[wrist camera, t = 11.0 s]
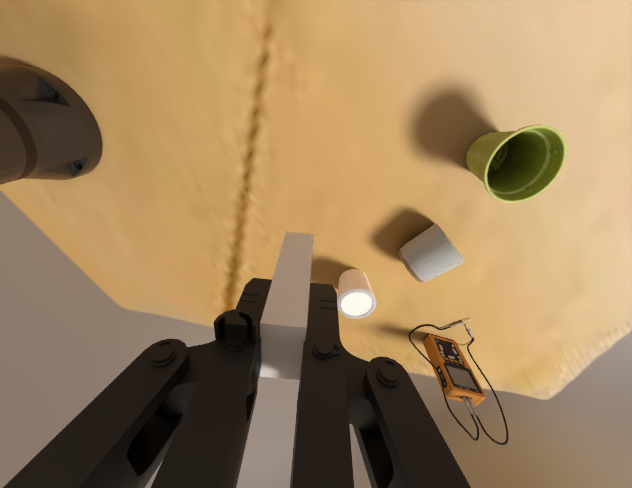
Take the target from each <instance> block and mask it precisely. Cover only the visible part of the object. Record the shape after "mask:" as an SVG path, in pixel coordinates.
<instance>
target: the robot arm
mask: <svg viewBox="0 0 632 488" xmlns="http://www.w3.org/2000/svg"><path fill="white" fill-rule="evenodd" d="M101 155H102V138H101V133H100V130H99V127H98V124H97V122H96V120H95V118H94V116H93V114H92V112H91V111H90V109H89V108H88V106H87V105H86V104H85V102H84V101H83V100H82V99H81V97H80V96H79V95H78V94H77V93H76V92H75V91H74V90H73V89H72V88H71V87H69V86H68V85H67V84H66V83H65V82H63V81H62V80H60V79H59V78H57V77H56V76H54V75H52V74H50V73H48V72H46V71H44V70H41V69H38V68H35V67H31V66H23V65H14V64H0V184H4V183H8V182H11V181H15V180H19V179H22V178H25V179H49V180H66V179H72V178H76V177H79V176H82V175H85V174H87V173H89V172H91V171H92V170H93V169H94V168H95V167H96V166H97V164H98V163H99V161H100V158H101ZM313 236H314V235H313V234H304V233H294V232H286V234H285V237H284V241H283V244H282V248H281V251H280V255H279V258H278V262H277V265H276V269H275V272H274V276H273V279H272V280H269V279H259V278H253V279H252V280H251V281H249V282H248V283H247V284H246V285H245V288H244V290H243V292H242V295H241V297H240V300H239V302H238V304H237V307H236V309H234V310H230V311H227V312H224V313H223V314H221V315H220V316H218V317H217V319H216V320H215V321H214V329H215V337H216V340H214V341H212V342H210V343H207V344H203V345H198V346H192V347H186V345H185V343H184V342H182V341H180V340H178V339H166V340H161V341H159V342H157V343H154V344H152V345H151V346H150V347H148V348H147V349H146V350H144V351H143V352H142V353H141V354H140V355H139V356H138V357H137V358H136V359H135V360H134V361H133V362H132V363H131V364H130V365H129V366H128V367H127V368H126V369H125V370H124V371H123V372H122V373H121V374H120V375H119V376H118V377H117V378H116V379H115V380H113V382H111V384H109V385H108V386H107V387H106V388H105V389H104V390H103V391H102V392H101V393H100V394H99V395H98V396H97V397H96V398H95V399H94V400H93V401H92V402H91V403H90V404H89V405H88V406H87V407H86V408H85V409H84V410H83V411H82V412H81V413H80V414H78V416H76V417H75V418H74V419H73V420H72V421H71V422H70V423H69V424H68V425H67V426H66V427H65V428H64V429H63V430H62V431H61V432H60V433H59V434H58V435H57V436H56V437H55V438H54V439H53V440H52V441H51V442H50V443H49V444H48V445H47V446H46V447H44V448H43V449H42V450H41V451H40V452H39V453H38V454H37V455H36V456H35V457H34V458H33V459H32V460H31V461H30V462H29V463H28V464H27V465H26V466H25V467H24V468H23V469H22V470H21V471H20V472H19V473H18V474H17V475H16V476H15V477H14V478H13V479H12V480H11V481H9V482H8V483H7V485H5V486H4V487H3V488H144V487H145V486H146V484H147V483H148V481H149V480H150V478H151V477H152V475H153V474H154V472H155V471H156V469H157V468H158V466H159V465H160V463H161V462H162V460H163V462H162V464H161V466H160V468H159V470H158V473H157V475H156V477H155V480H154V482H153V484H152V486H151V488H236V486H237V481H238V477H239V472H240V468H241V463H242V459H243V454H244V450H245V445H246V440H247V436H248V432H249V427H250V422H251V418H252V414H253V409H254V405H255V400H256V396H257V382H258V378H259V373H260V376H264V377H274V378H285V379H297V380H300V385H299V393H298V401H297V415H296V426H295V437H294V448H293V460H292V471H291V483H290V488H354V481H353V468H352V454H351V442H350V428H349V423H350V424H352V425H353V427H354V430H355V434H356V437H357V440H358V443H359V447H360V450H361V453H362V457H363V460H364V463H365V467H366V470H367V473H368V477H369V480H370V483H371V487H372V488H471V487H470V485H469V484H468V482H467V480H466V478H465V476H464V475H463V473H462V471H461V469H460V467H459V466H458V464H457V462H456V460H455V458H454V456H453V455H452V453H451V451H450V449H449V448H448V446H447V444H446V442H445V440H444V438H443V437H442V435H441V433H440V431H439V429H438V428H437V426H436V424H435V422H434V420H433V418H432V417H431V415H430V413H429V411H428V409H427V408H426V406H425V404H424V402H423V400H422V399H421V397H420V395H419V393H418V391H417V390H416V388H415V386H414V384H413V382H412V380H411V379H410V377H409V375H408V373H407V372H406V370H405V369H404V368H403V367H402V365H400V364H399V363H398V362H396V361H395V360H393V359H390V358H388V357H377V358H374V359H372V360H371V361H370V362H368V361H365V360H362V359H360V358H357V357H355V356H353V355H351V354H350V353H349V352H348V351H346V349H345V348H344V347H343V345H342V343H341V341H340V336H339V321H338V306H337V293H336V291H335V289H334V288H333V286H332V285H328V284H318V283H310V277H311V264H312V250H313Z"/></svg>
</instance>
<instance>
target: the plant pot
mask: <svg viewBox="0 0 632 488" xmlns="http://www.w3.org/2000/svg"><path fill="white" fill-rule="evenodd" d="M502 149H504V154H503V156H502V158H500V155H501V153H502ZM566 156H567V145H566V141H565V139H564V136H563V134H562V133H561V132H560V131H559V130H557V129H556V128H554V127H552V126H548V125H531V126H527V127H524V128H521V129H519V130H517V131H510V132H492V133H487V134H484V135H482V136H480V137H479V138H478V139H477V140H476V141H475V142H474V143H472V144H471V146H470V147H469V149H468V151H467V154H466V165H467V167H468V169H469V170H470V171H471V172H472V173H473V174H474V175H476V176H477V177H478V178H479V179H480V180H481V181H483V182H484V184H485V187H486V190H487V191H488V193H489V194H490V195H491V196H492V197H493V198H495V199H496V200H498V201H501V202H505V203H517V202H522V201H525V200H528V199H531V198H533V197H535V196H536V195H538V194H540V193H541V192H543V191H544V190H545V189H547V188H548V187H549V186H550V185H551V184H552V183H553V182H554V181H555V179H556V178H557V177H558V175H559V174H560V172H561V170H562V168H563V166H564V163H565V160H566Z"/></svg>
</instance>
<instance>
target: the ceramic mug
mask: <svg viewBox="0 0 632 488" xmlns="http://www.w3.org/2000/svg"><path fill="white" fill-rule="evenodd" d="M399 256H400V258H401V260H402V262H403V264H404V265H405V267H406V268H407V270H408V271H409V272H410V274H411V275H412V276H413V277H414V278H415V279H416V280H417V281H419V282H425V281H428V280H430V279H433V278H435V277H436V276H438V275H440V274H442V273H444V272H446V271H448V270H450V269H452V268H454V267H456V266H458V265H460V264H462V263H463V262H465V260H464V258H463V257H462V256H461V254H460V253H459V252H458V251H457V249H456V248H455V246H454V245H453V244H452V242H451V241H450V240H449V239H448V237H447V236H446V235H445V233H444V232H443V231H442V229H441V228H440V227H439V225H438V224H434V225H432V226H431V227H430V228H428V229H427V230H425V231H424V232H422V233H421V234H419V235H418V236H417V237H415V238H414V239H412V240H411V241H409V242H408V243H406V244H405V245H404V246H403V247H402V248H401V249H400V250H399Z"/></svg>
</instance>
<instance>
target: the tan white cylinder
mask: <svg viewBox="0 0 632 488" xmlns="http://www.w3.org/2000/svg"><path fill="white" fill-rule="evenodd" d="M376 303H377V302H376V299H375V296H374V294H373V291H372V289H371V286H370V284H369V281H368V279H367V276H366V274H365V273H364V272H363V271H361V270H358V269H350V270H346V271H345V272H343V273H342V274H341V276H340V277H339V288H338V304H337V306H338V309H339V311H340V312H341V313H342V314H343V315H344V316H347V317H349V318H362V317H366V316H368V315H369V314H371V313H372V312H373V311H374V309H375V307H376Z"/></svg>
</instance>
